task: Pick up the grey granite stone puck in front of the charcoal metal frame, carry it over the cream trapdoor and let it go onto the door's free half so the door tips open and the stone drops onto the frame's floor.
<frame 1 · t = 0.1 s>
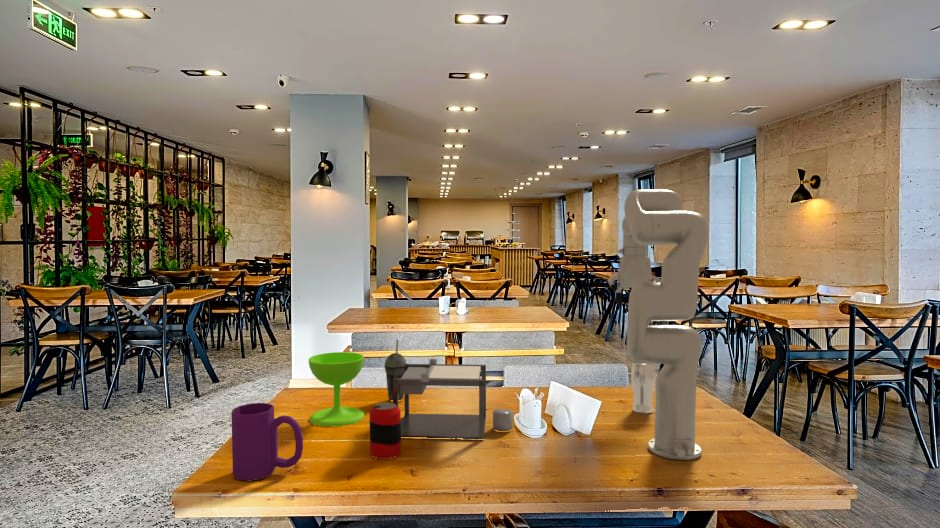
hand: (634, 304, 183), 31 cm above the table, tool pointing down, fingers open, 9 cm apart
beverage cup: (395, 401, 182), on the table
trapdoor: (441, 379, 155), point 14 cm above the table, hinge at 0.0°
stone: (502, 429, 155), on the table
mug: (268, 473, 127), on the table
soda can: (385, 454, 138), on the table
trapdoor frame: (442, 428, 156), on the table
wineglass: (337, 418, 165), on the table
beer glass: (642, 411, 171), on the table
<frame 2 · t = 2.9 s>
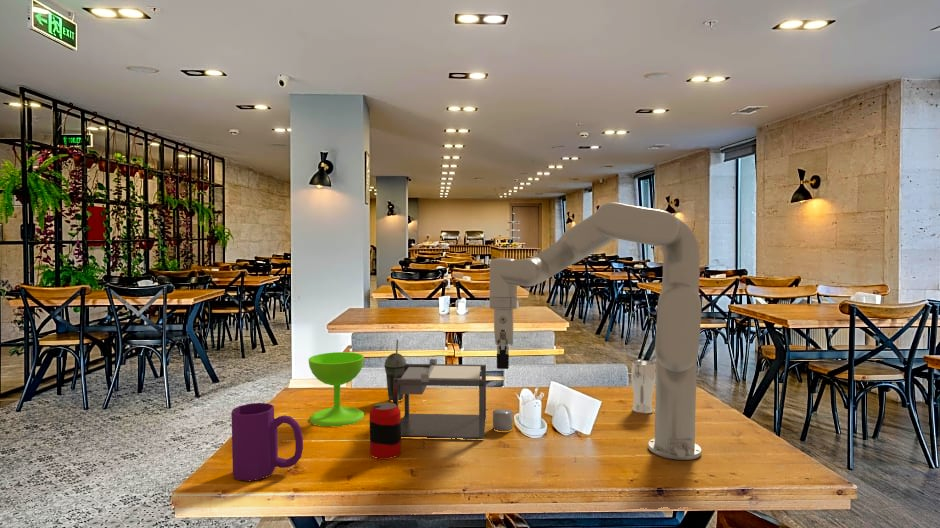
hand: (502, 364, 154), 18 cm above the table, tool pointing down, fingers open, 9 cm apart
nothing on the table moved.
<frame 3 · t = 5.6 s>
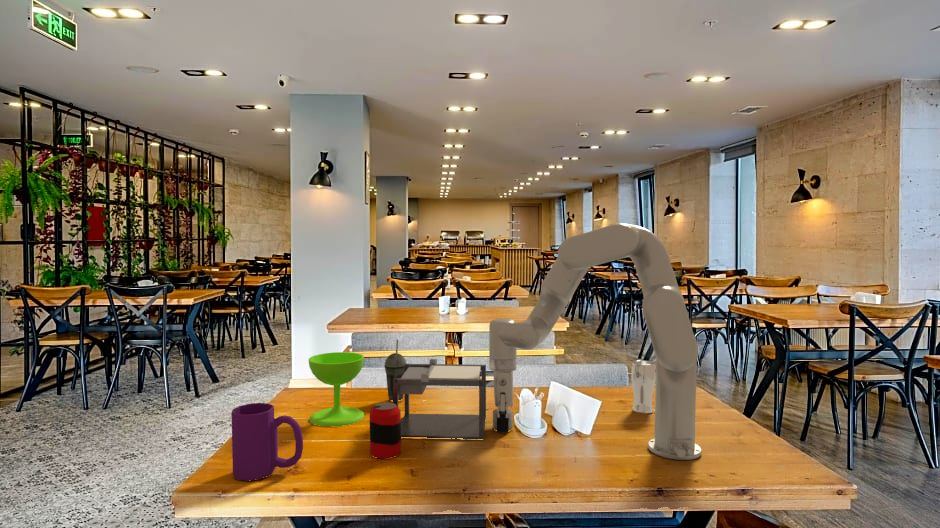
hand: (502, 427, 155), 1 cm above the table, tool pointing down, fingers closed on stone, 5 cm apart
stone: (502, 429, 155), on the table, touching gripper
everything else where it was.
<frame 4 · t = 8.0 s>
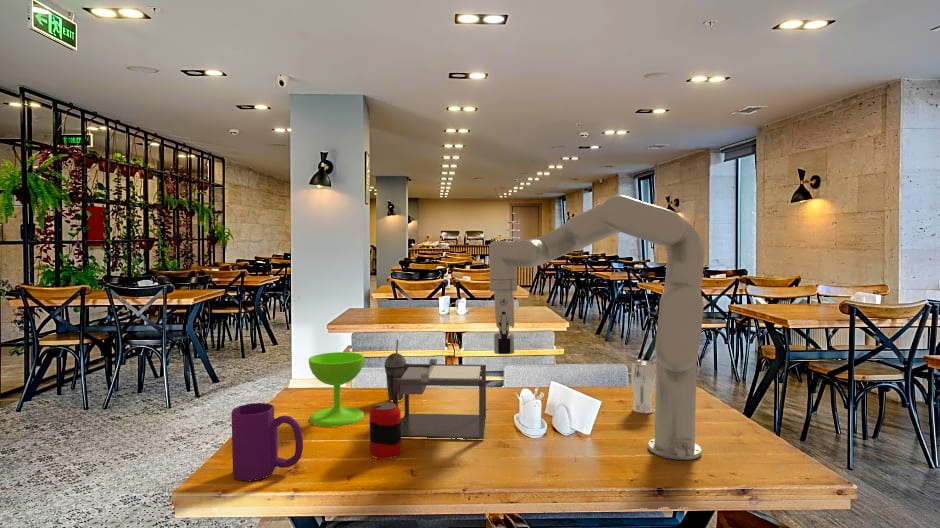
hand: (504, 350, 154), 22 cm above the table, tool pointing down, fingers closed on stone, 5 cm apart
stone: (504, 352, 154), point 22 cm above the table, touching gripper
everything else where it was.
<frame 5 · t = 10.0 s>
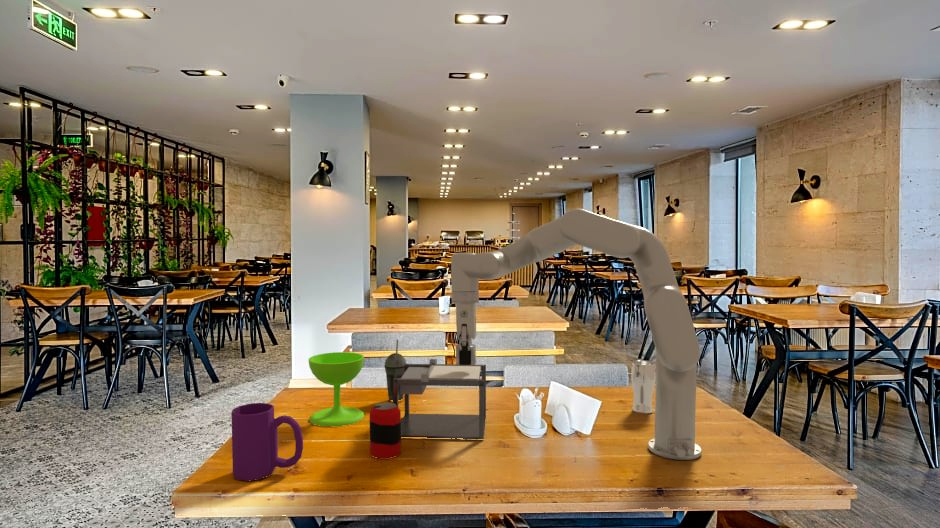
hand: (466, 361, 155), 19 cm above the table, tool pointing down, fingers closed on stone, 5 cm apart
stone: (465, 363, 155), point 18 cm above the table, touching gripper
everything else where it was.
when the fingers open (19 cm above the table, at t = 10.6 s): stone drops 15 cm and tips over, resting on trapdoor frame.
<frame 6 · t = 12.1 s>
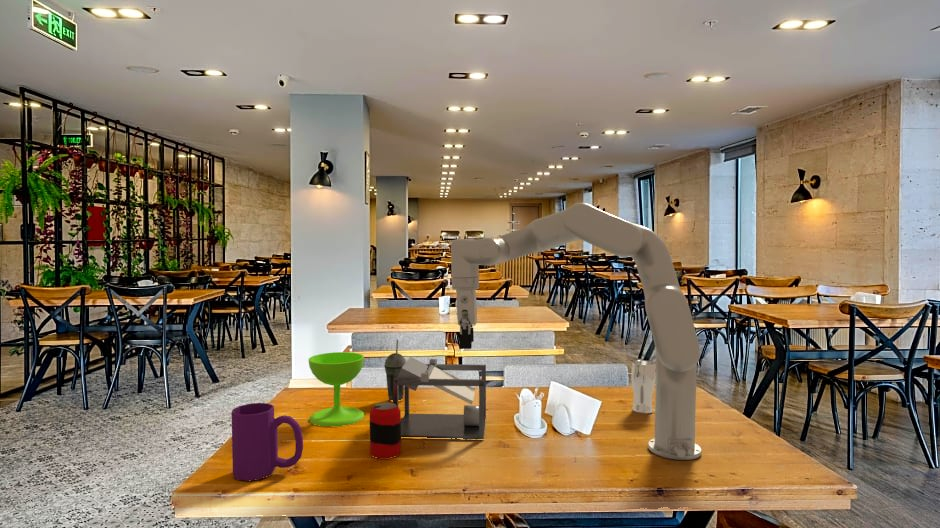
hand: (466, 345, 154), 24 cm above the table, tool pointing down, fingers open, 9 cm apart
trapdoor: (437, 383, 156), point 13 cm above the table, hinge at -25.7°
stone: (464, 415, 156), point 4 cm above the table, tilted 90°, touching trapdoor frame
everything else where it was.
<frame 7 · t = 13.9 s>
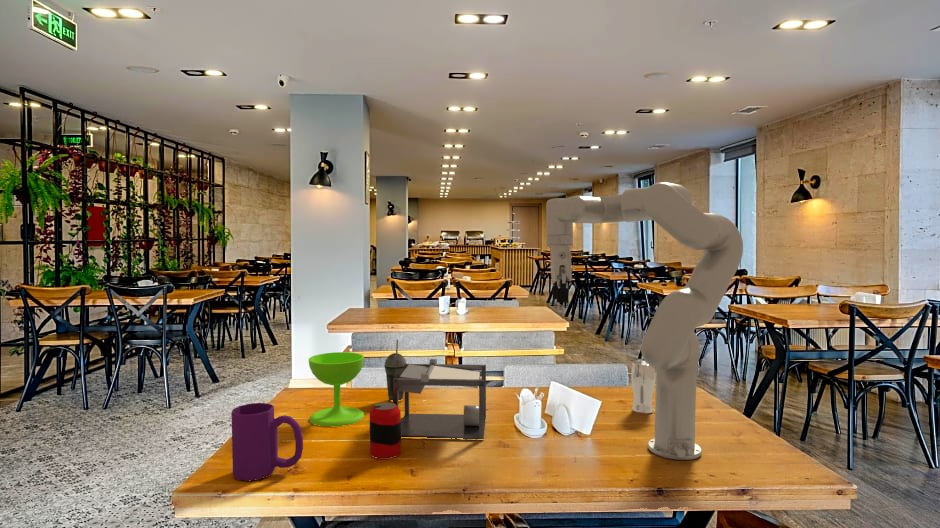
hand: (560, 300, 161), 35 cm above the table, tool pointing down, fingers open, 9 cm apart
trapdoor: (441, 380, 155), point 14 cm above the table, hinge at -6.4°
everything else where it was.
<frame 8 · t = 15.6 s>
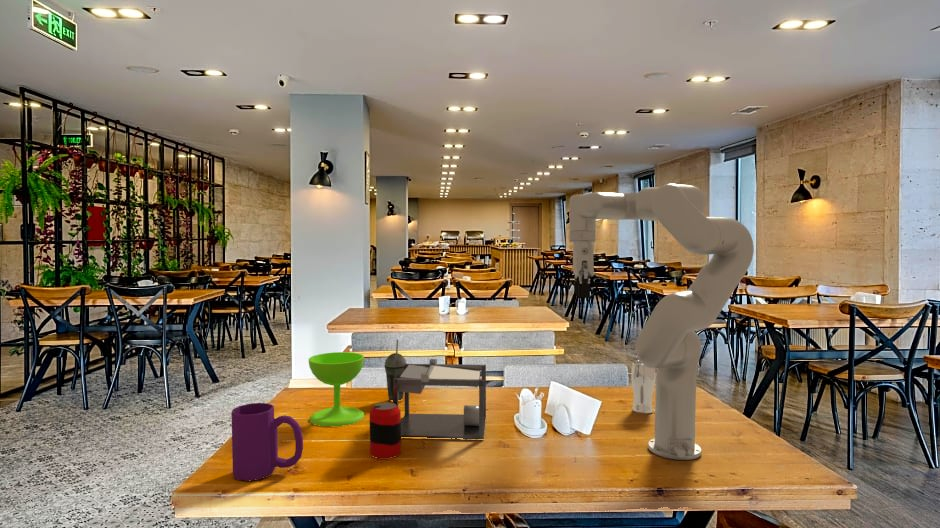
hand: (581, 295, 163), 36 cm above the table, tool pointing down, fingers open, 9 cm apart
trapdoor: (441, 380, 155), point 14 cm above the table, hinge at -5.6°
everything else where it was.
at the end: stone point 3.7 cm above the table; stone inside the target area on the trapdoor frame (6.3 cm from its centre), point 3.7 cm above the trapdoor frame's base; the gripper is holding nothing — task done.
